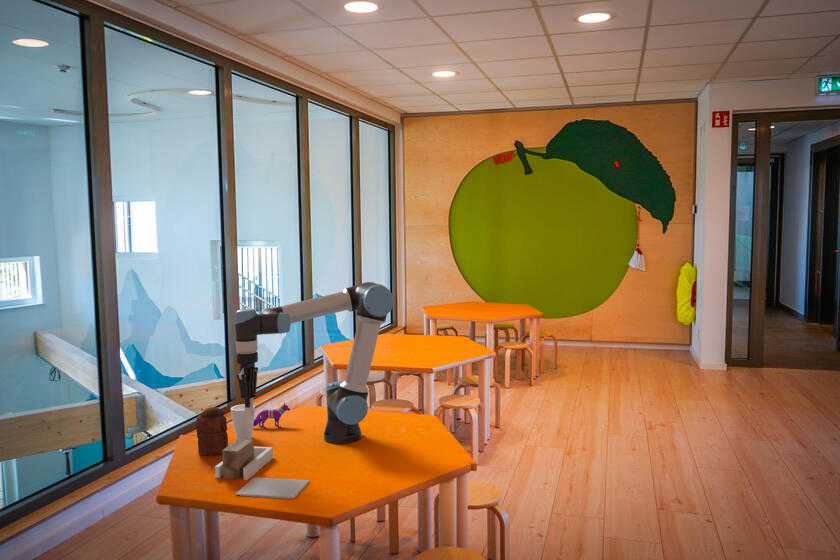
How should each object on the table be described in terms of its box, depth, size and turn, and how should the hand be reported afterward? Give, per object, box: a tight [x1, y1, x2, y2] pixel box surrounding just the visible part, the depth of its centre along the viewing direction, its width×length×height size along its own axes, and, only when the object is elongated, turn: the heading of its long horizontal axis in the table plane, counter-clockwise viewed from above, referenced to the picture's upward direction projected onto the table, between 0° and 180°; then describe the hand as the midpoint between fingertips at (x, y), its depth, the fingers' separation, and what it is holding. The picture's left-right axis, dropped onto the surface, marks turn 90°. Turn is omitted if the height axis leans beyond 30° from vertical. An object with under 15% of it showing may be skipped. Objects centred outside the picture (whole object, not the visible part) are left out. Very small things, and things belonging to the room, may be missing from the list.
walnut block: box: [222, 439, 255, 480], centre depth 240 cm, size 6×12×10 cm, turn 169°
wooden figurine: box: [195, 406, 229, 456], centre depth 260 cm, size 12×6×18 cm, turn 96°
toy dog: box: [253, 402, 291, 429], centre depth 291 cm, size 4×18×10 cm, turn 99°
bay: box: [214, 445, 274, 481], centre depth 245 cm, size 12×22×4 cm, turn 169°
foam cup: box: [230, 403, 256, 440], centre depth 277 cm, size 10×9×13 cm
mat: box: [235, 476, 311, 500], centre depth 225 cm, size 20×14×1 cm
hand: (249, 415), depth 249 cm, fingers closed
